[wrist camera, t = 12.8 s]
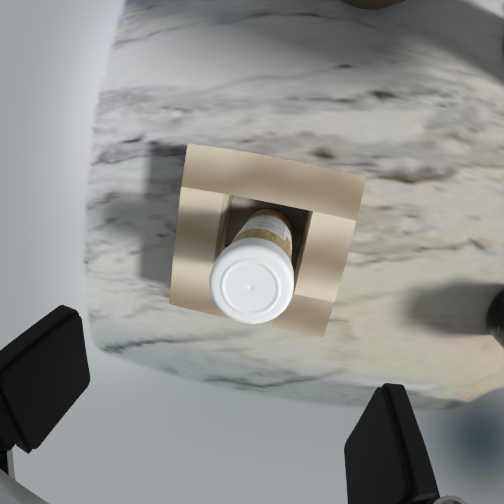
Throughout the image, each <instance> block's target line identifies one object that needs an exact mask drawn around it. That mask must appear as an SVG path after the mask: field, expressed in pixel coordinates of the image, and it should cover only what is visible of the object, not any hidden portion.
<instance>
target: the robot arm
mask: <svg viewBox="0 0 504 504" xmlns="http://www.w3.org/2000/svg"><path fill="white" fill-rule="evenodd" d="M89 382H90V374H89V368H88V362H87V356H86V349H85V342H84V334H83V326H82V319H81V317H80V316H79V313H78V312H77V311H76V310H75V309H72V308H69V307H67V306H64V305H60V306H58V307H57V308H56V309H55V310H53V311H52V312H50V313H49V314H48V315H46V316H45V317H43V318H42V319H41V320H39V321H38V322H37V323H36V324H34V325H33V326H31V327H30V328H29V329H27V330H26V331H25V332H24V333H22V334H21V335H20V336H18V337H17V338H16V339H14V340H13V341H12V342H11V343H9V344H8V345H7V346H6V347H4V348H3V349H2V350H0V504H49V503H48V502H46V501H44V500H43V499H41V498H40V497H38V496H37V495H35V494H34V493H32V492H31V491H29V490H28V489H26V488H25V487H23V486H22V485H21V484H19V483H18V482H17V481H15V474H14V465H13V453H12V448H13V446H14V445H15V444H16V445H17V446H18V447H19V448H21V449H22V450H24V451H25V452H27V453H28V454H29V453H30V452H31V450H32V449H36V448H38V447H39V446H40V445H41V443H42V442H43V441H44V439H45V438H46V437H47V436H48V434H49V433H50V432H51V431H52V429H53V428H54V427H55V426H56V424H57V423H58V422H59V421H60V419H61V418H62V417H63V416H64V415H65V413H66V412H67V411H68V409H69V408H70V407H71V406H72V405H73V404H74V402H75V401H76V400H77V399H78V397H79V396H80V395H81V394H82V393H83V391H84V390H85V389H86V388H87V387H88V385H89ZM344 454H345V467H346V480H347V495H348V504H467V503H466V502H465V501H463V500H462V499H461V498H459V497H456V496H444V497H441V498H440V495H439V491H438V488H437V484H436V480H435V477H434V473H433V470H432V466H431V463H430V460H429V456H428V453H427V450H426V447H425V444H424V441H423V438H422V435H421V432H420V430H419V427H418V424H417V421H416V418H415V415H414V412H413V410H412V407H411V404H410V401H409V398H408V396H407V393H406V390H405V388H404V386H403V385H401V384H390V383H385V384H384V385H383V386H382V387H378V388H377V389H376V390H375V392H374V394H373V396H372V398H371V400H370V402H369V403H368V405H367V407H366V409H365V411H364V412H363V414H362V416H361V418H360V420H359V421H358V423H357V425H356V426H355V428H354V430H353V431H352V433H351V435H350V436H349V438H348V439H347V441H346V444H345V448H344Z"/></svg>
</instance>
